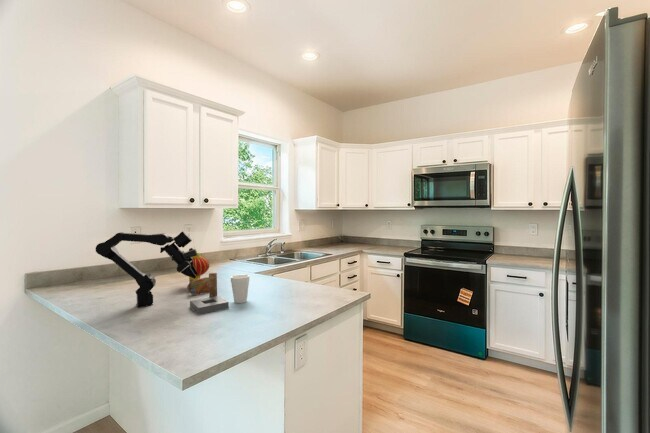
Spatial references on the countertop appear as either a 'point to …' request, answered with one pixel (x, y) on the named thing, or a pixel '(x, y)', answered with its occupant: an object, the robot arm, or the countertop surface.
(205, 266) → the lantern
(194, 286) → the tin
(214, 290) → the peg
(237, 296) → the foam cup
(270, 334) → the countertop surface
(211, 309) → the socket block
